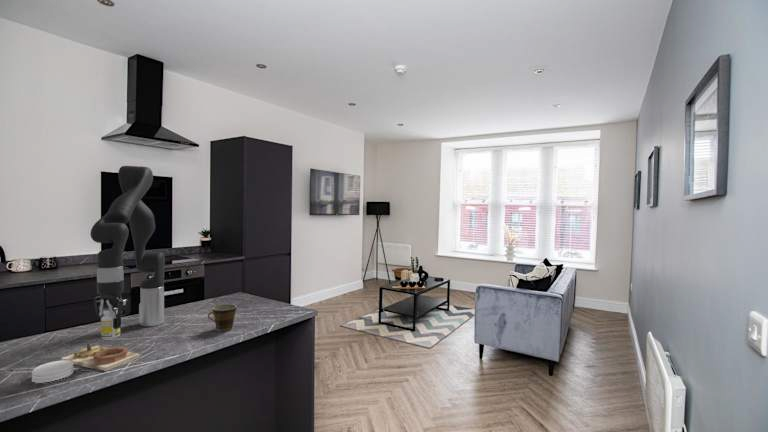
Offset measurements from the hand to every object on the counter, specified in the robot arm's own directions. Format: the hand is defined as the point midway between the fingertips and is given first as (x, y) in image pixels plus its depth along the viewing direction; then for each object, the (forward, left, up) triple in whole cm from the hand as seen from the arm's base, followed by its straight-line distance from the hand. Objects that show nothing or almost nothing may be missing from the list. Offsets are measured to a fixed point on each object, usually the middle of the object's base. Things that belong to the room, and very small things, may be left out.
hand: (110, 326), depth 128 cm
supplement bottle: (0, 0, -4) cm, 4 cm away
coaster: (-6, -14, -13) cm, 20 cm away
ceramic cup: (+13, +39, -13) cm, 43 cm away
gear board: (-5, 0, -12) cm, 13 cm away
